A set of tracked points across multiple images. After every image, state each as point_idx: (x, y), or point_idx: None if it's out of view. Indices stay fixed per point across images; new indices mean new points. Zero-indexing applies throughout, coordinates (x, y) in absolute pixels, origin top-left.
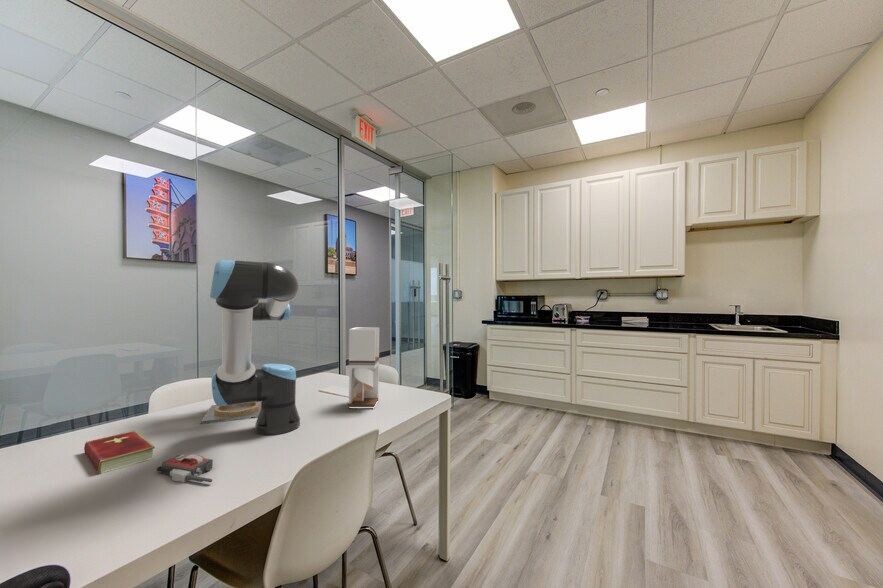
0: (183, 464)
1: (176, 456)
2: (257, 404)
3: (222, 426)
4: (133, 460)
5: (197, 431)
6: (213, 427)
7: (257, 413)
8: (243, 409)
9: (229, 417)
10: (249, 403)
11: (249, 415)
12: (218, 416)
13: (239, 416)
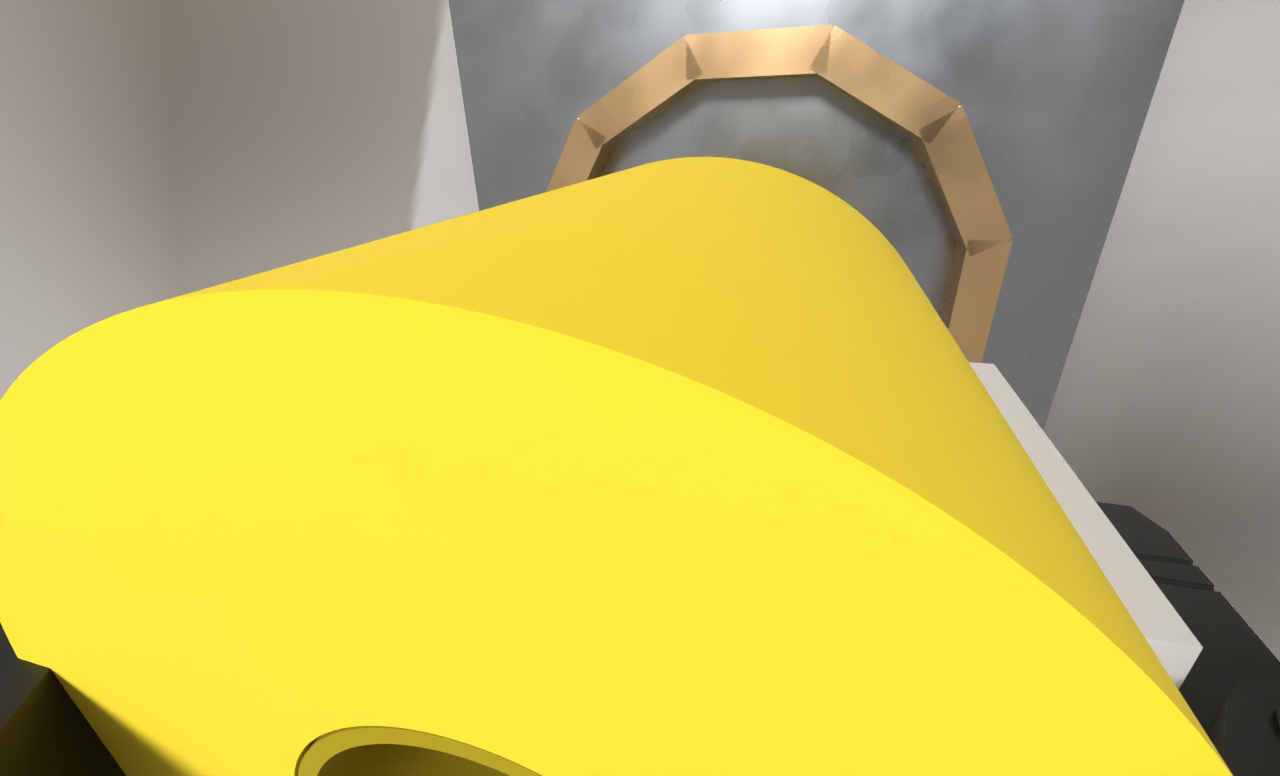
0: None
1: None
2: (786, 47)
3: (1250, 386)
4: None
5: (1238, 564)
6: (1212, 457)
7: (1089, 12)
8: (956, 217)
9: (1039, 344)
10: (597, 174)
11: (1124, 120)
12: None
13: (1080, 243)
